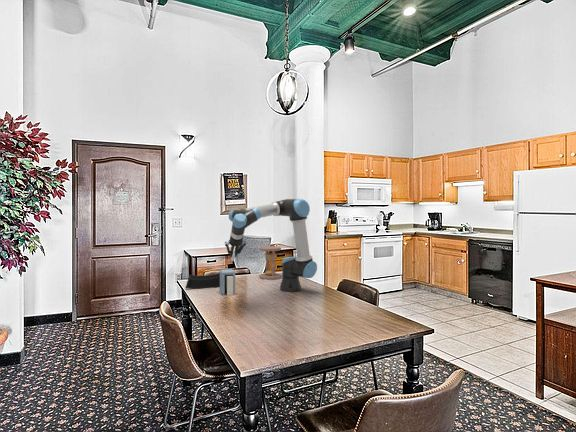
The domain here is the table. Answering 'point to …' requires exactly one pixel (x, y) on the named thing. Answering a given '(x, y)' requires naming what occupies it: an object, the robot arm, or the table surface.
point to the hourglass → (270, 257)
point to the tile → (229, 284)
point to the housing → (222, 279)
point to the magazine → (203, 281)
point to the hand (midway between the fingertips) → (232, 259)
